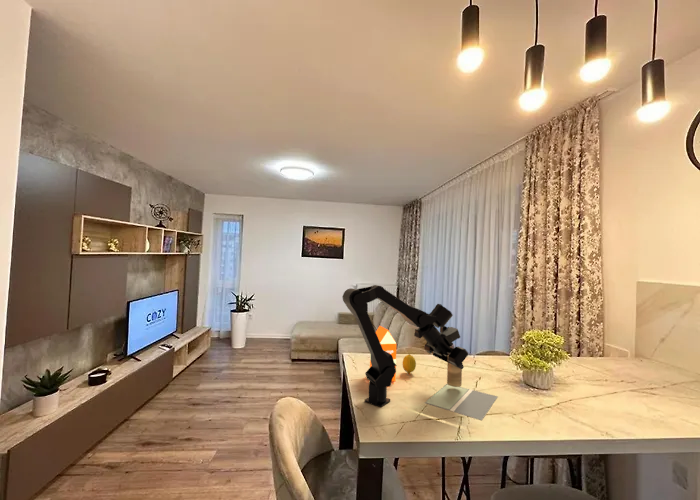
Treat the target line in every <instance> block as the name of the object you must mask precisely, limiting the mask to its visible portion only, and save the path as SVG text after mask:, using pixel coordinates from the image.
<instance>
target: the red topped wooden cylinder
mask: <svg viewBox="0 0 700 500" xmlns="http://www.w3.org/2000/svg"><path fill="white" fill-rule="evenodd" d="M448 356H449V355H448ZM446 369H447V371H446V372H447V373H446V375H447V377H446V384H448V385H450V386H453V387H462V378H463V375H462V374H463V369H460V368H458V367H456V366H454V365H452V364H450V363H448V362H447V368H446Z"/></svg>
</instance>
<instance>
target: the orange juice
mask: <svg viewBox="0 0 700 500" xmlns="http://www.w3.org/2000/svg"><path fill="white" fill-rule="evenodd" d="M375 332H376V334H377V337H378V339H379V341H380V344H381V346H382V349H383V350H384V351H386V352H388V353H389V354H391V355H392V357H393V360H394V363H395V364H396V365H397V342H396V340H395V338H394V337H393V336H392V334H391V333H390V330H389V329H387V328H385V327H383V326H381V325H379V326H378V328H377V329H376V330H375ZM370 360H371V354H369V368H370V367H371V366H372V365H371V361H370ZM395 368H396V369H397V366H395ZM396 374H397V372H396V373H395V375H394V377H393V379H392V382H396V378H397V377H396V376H397V375H396ZM392 382H391V383H392Z"/></svg>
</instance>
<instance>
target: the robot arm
mask: <svg viewBox="0 0 700 500" xmlns="http://www.w3.org/2000/svg"><path fill="white" fill-rule="evenodd" d="M375 300H379V301H380V302H381V303H384V304H385V305H386V306H388V307H389V308H391V309H393V310H394V311H396V313H399V314H400V316H401V317H402V318H403V320H404V321H406V322H407V323H408V324H409V325H411V326H414V327H417V328H416V329H414V333H413V334H414V335H413V336H414V337H415V338H418V339H421V338H423V339H424V341H426V342H425V344H424V347H423V348H424V349H423V350H424V351H425V352H426V353H427V354H430V355H431V354H432V356H433V357H436V358H437V359H439V360H441V361H444V362H446V363H447V364H448V363H450V364H452V365H454V366H456V367H458V368H460V369H462V370H463V369H464V364H463V362H464V360H465V359H466V358H468V356H469V352H468V351H467V349H466V348H463V347H461V346H455V347H452V346H453V345H454V343H453V342H454V341H456V340H459V339H461V334H460V331H459V329H458V328H457V327H453V326H446V324H447V323H448V322H449V321H450V320H451V318H452V317H453V316H454V314H453V313H452V312H451V311H450V310H449V309H448V308H446V307H445V306H443V305H442V304H441V303H437V304H435V306H434V308H433V309H432V310H431V312H430V313H428V312H426V311H424V310H422V309H418V308H416V307H415V306H414V307H413V306H411V305H409V304H408V303H406V302H404V301H403V300H402V299H400V298H398V297H397V296H396V295H394V294H392V293H391V292H390V291H389V290H386V288H384V286H382V285H377V284H373V285H370V286H367V287H360V288H357V289H356V288H351V287H350V288H347V289H346V290H345V291H344V292H343V294H342V302H343V303H344V304H345V306H346V307H347V309H348V310H349V312H350V313H351V314H352V315H353V317H354V318H355V320H356V323H357V325H358V328H359V330H360V332H361V335H362V337H363V339H364V341H365V344H366V347H367V349H368V351H369V353H370V354H371V360H370V359H369V362H370V361H371V365H372V366H371V367H370V366H369V368H368V369H367V370H366V372H365V373H364V374H365V378H366V379H367V380H369V383H368V396H367V398H365V399H364V402H365V403H367V404H370V405H373V406H377V407H379V408H382V407H383V406H385V405H386V404H388V403H389V402H390V401H391V398H388V397H387V394H388V391H387V390H388V389H387V388H388V387H389V388H390V387H391V384H392V379H393V377H394V375H395V373H396V374H397V363H396V364H395V363H394V360H393V357H392V355H391V354H389V353H388V352H386V351H384V350H383V349H382V346H381V344H380V341H379V339H378V337H377V334H376V330H375V328H374V325H373V323H372V320H371V318H370V316H369V310H368V309H369V304H368V303H371V302H373V301H375ZM437 328H438V329H439V330H438V329H437ZM370 354H369V355H370ZM448 355H449V356H448ZM395 366H396V368H395Z"/></svg>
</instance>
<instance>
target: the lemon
mask: <svg viewBox="0 0 700 500" xmlns="http://www.w3.org/2000/svg"><path fill="white" fill-rule="evenodd" d="M416 366H417V361H416V358H415V357H414V356H413V355H411V354H407V355H405V356H403V359H402V368H403V370H404V371H405V372H406V373H408V374H411V373H413V372H414V371H415V370H416Z"/></svg>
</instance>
